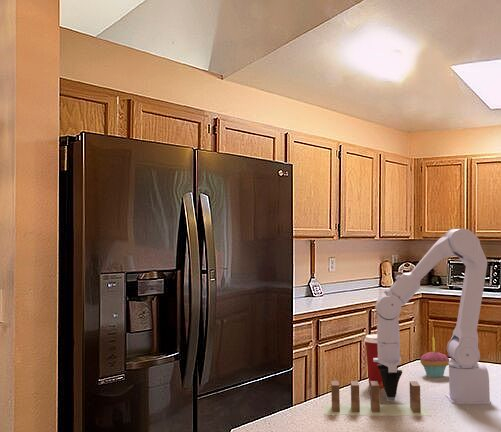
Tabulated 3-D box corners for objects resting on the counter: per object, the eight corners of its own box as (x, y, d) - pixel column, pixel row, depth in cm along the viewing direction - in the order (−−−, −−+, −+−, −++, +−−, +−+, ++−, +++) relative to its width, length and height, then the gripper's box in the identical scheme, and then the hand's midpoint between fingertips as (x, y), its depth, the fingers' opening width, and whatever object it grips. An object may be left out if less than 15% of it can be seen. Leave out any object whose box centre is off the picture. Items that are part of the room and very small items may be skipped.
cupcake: (418, 372, 188) (417, 333, 189) (447, 372, 187) (446, 333, 187) (422, 379, 180) (421, 338, 180) (452, 379, 179) (451, 338, 179)
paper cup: (393, 389, 169) (392, 338, 169) (365, 388, 170) (363, 338, 171) (392, 382, 176) (391, 333, 177) (365, 381, 178) (364, 333, 178)
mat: (424, 406, 152) (424, 404, 152) (431, 417, 143) (431, 415, 143) (323, 405, 154) (323, 404, 154) (324, 415, 146) (324, 414, 146)
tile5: (339, 406, 152) (338, 380, 152) (339, 411, 147) (339, 385, 148) (331, 406, 152) (331, 380, 152) (332, 411, 148) (331, 385, 148)
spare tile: (392, 397, 160) (391, 373, 160) (394, 402, 156) (394, 377, 156) (385, 397, 160) (384, 373, 161) (387, 402, 156) (387, 377, 156)
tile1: (417, 407, 150) (416, 381, 150) (420, 412, 146) (420, 385, 146) (410, 407, 150) (409, 381, 150) (413, 412, 146) (412, 385, 146)
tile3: (378, 407, 151) (377, 381, 151) (380, 412, 146) (379, 385, 147) (370, 407, 151) (370, 381, 151) (372, 412, 147) (371, 385, 147)
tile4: (358, 406, 151) (357, 381, 152) (359, 412, 147) (359, 385, 147) (351, 406, 152) (350, 380, 152) (352, 412, 147) (351, 385, 147)
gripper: (370, 337, 166) (371, 387, 166) (375, 347, 152) (377, 401, 151) (396, 337, 166) (397, 387, 165) (404, 347, 151) (406, 402, 151)
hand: (389, 394), depth 158 cm, fingers closed on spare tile, 4 cm apart
